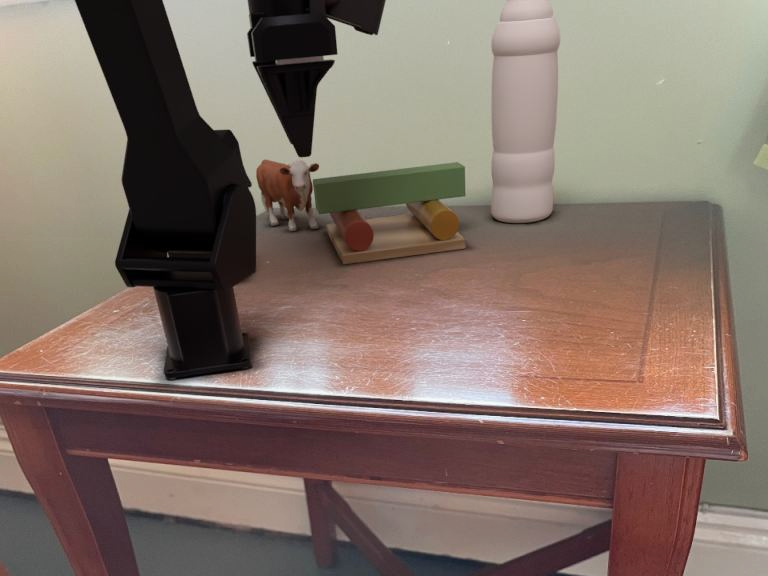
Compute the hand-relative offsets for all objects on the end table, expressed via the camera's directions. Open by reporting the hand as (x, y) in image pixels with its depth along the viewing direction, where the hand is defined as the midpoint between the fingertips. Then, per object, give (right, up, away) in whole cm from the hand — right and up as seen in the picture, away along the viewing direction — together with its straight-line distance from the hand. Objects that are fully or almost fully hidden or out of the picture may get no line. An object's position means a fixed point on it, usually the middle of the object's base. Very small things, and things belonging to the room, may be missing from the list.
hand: (300, 150), depth 69 cm
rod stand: (+8, -2, +16) cm, 18 cm away
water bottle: (+24, +2, +20) cm, 31 cm away
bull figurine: (-3, +2, +25) cm, 25 cm away
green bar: (+8, +1, +14) cm, 16 cm away
